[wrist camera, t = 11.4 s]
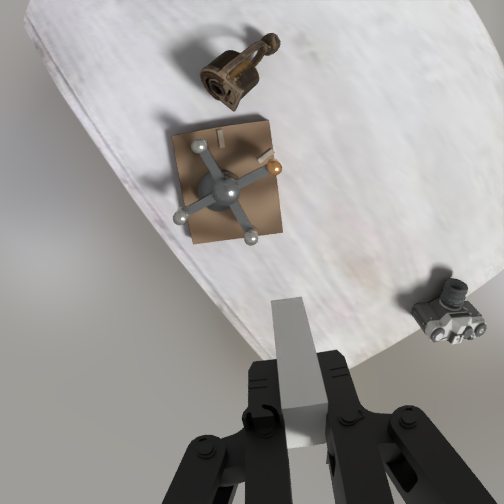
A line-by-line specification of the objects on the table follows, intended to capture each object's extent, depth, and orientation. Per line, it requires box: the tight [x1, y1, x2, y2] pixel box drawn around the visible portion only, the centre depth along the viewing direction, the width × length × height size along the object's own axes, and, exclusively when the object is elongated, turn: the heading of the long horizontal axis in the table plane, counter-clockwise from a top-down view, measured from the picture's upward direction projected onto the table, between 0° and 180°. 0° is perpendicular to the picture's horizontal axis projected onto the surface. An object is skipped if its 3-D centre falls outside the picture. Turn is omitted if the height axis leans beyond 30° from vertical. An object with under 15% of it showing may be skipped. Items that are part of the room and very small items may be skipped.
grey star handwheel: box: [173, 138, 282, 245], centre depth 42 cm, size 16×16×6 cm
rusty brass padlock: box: [200, 33, 280, 112], centre depth 35 cm, size 7×13×10 cm, turn 153°
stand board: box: [172, 120, 283, 244], centre depth 46 cm, size 17×14×2 cm
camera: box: [412, 278, 487, 345], centre depth 51 cm, size 16×10×10 cm, turn 88°
